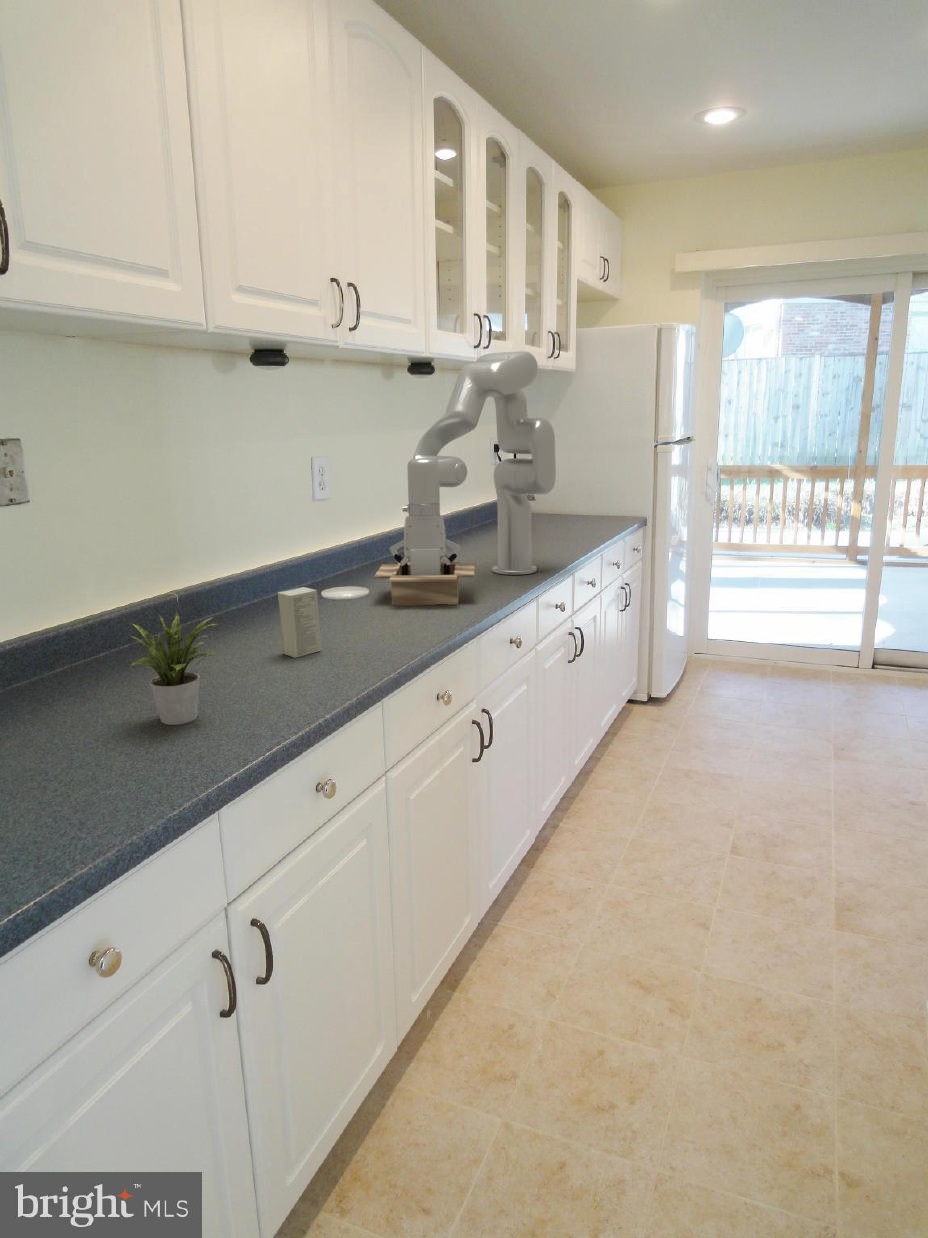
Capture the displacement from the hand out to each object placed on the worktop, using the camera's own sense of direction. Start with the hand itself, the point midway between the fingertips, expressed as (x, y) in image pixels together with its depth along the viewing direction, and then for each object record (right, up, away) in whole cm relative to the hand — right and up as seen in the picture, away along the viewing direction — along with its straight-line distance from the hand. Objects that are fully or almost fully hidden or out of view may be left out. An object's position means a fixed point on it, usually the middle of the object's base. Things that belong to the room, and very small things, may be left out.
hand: (426, 580), depth 199 cm
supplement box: (0, -4, +1) cm, 5 cm away
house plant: (-32, -25, -78) cm, 88 cm away
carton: (0, -4, +1) cm, 4 cm away
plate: (-21, -3, +6) cm, 22 cm away
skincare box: (-22, -16, -44) cm, 52 cm away
